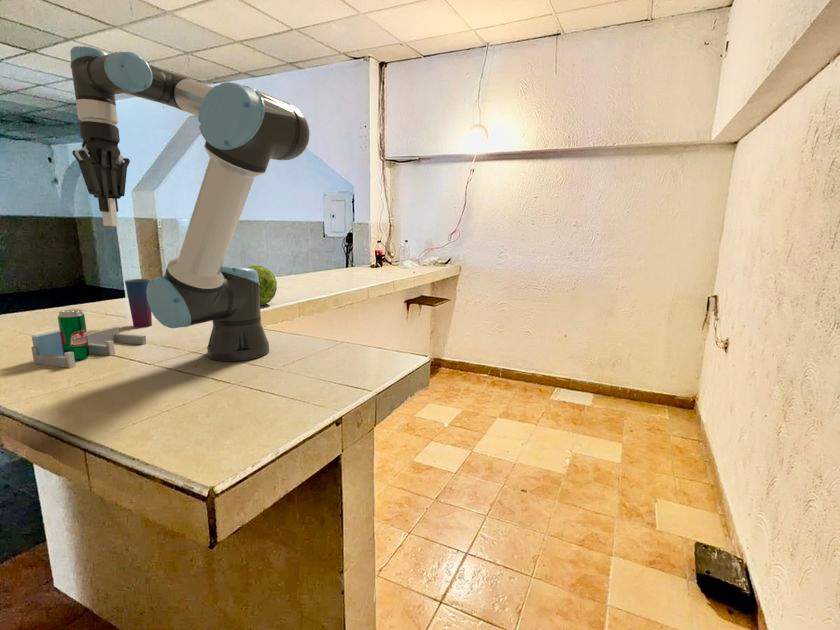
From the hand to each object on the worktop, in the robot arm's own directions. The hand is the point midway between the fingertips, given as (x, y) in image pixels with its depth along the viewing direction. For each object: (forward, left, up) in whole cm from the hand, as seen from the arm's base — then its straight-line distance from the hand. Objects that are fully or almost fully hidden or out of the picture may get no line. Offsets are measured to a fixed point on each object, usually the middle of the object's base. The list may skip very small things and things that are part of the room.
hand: (110, 225), depth 105 cm
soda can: (+6, +8, -33) cm, 34 cm away
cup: (+19, -24, -33) cm, 45 cm away
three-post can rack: (+6, +3, -32) cm, 33 cm away
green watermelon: (+10, -71, -33) cm, 79 cm away
